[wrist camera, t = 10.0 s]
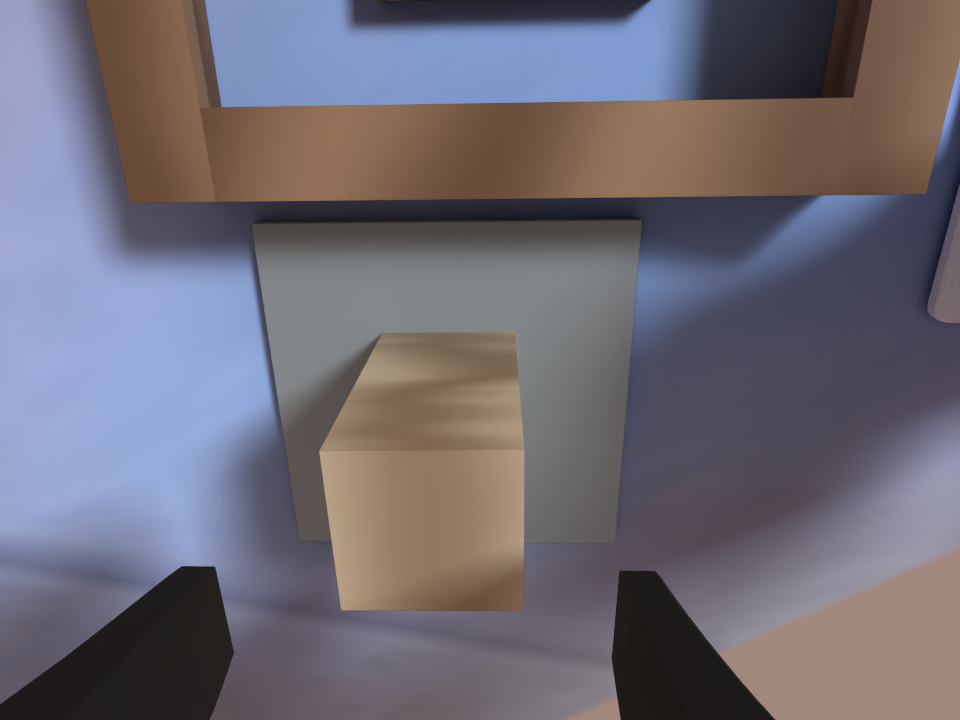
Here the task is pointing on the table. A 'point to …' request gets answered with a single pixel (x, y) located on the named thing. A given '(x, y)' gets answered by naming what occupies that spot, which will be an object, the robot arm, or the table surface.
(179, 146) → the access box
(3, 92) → the table surface
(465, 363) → the beech block
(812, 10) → the table surface
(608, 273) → the place mat
